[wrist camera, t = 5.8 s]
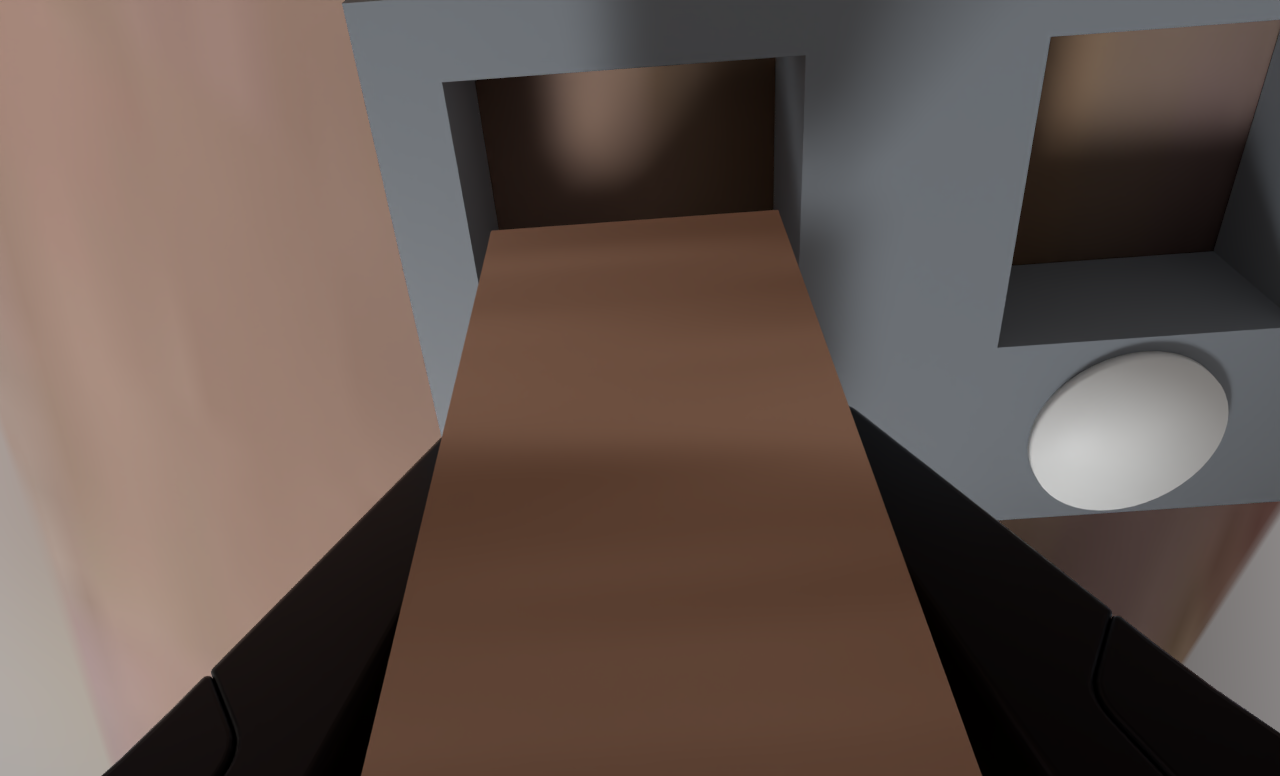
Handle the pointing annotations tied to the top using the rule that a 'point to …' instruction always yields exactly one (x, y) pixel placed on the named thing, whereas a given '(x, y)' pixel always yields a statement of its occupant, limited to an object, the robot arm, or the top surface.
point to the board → (897, 230)
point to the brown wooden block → (657, 531)
